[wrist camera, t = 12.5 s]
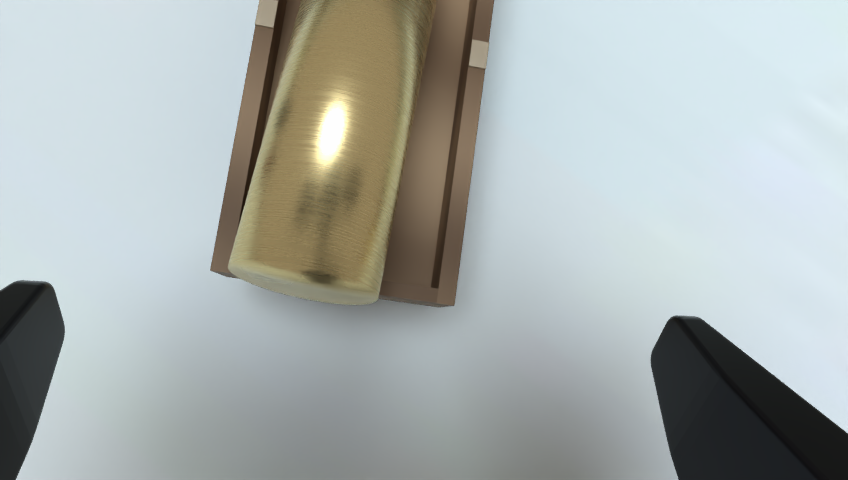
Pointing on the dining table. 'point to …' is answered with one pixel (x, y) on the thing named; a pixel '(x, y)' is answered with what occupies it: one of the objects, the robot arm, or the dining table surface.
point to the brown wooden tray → (426, 156)
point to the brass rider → (334, 151)
